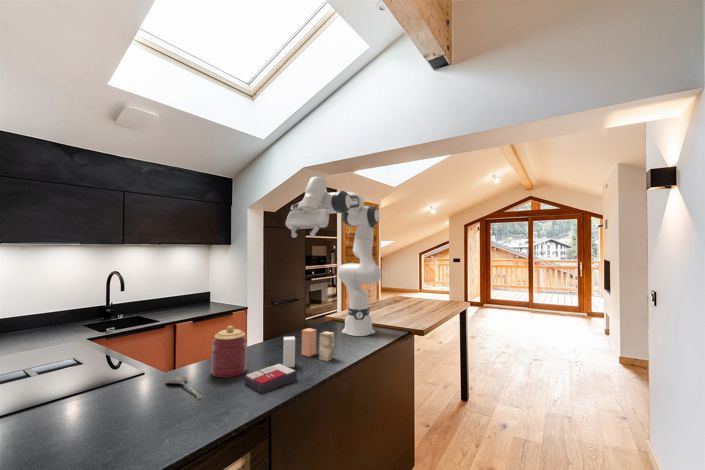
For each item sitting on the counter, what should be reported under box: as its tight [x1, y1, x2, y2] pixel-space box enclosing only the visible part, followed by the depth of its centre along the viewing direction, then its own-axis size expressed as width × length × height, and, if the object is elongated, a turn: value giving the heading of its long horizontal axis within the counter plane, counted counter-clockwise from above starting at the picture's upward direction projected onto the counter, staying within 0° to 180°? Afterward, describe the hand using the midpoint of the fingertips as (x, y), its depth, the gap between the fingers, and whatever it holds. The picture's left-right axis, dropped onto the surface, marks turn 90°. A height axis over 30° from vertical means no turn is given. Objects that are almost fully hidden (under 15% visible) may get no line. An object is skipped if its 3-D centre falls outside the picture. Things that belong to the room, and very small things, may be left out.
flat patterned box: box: [243, 363, 298, 394], centre depth 119 cm, size 11×4×15 cm
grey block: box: [282, 335, 296, 368], centre depth 136 cm, size 4×4×11 cm
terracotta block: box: [301, 327, 317, 357], centre depth 150 cm, size 4×4×11 cm
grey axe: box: [165, 375, 203, 401], centre depth 113 cm, size 22×3×7 cm
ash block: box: [318, 331, 335, 362], centre depth 144 cm, size 4×4×11 cm
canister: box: [210, 325, 248, 378], centre depth 128 cm, size 13×13×18 cm
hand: (302, 236), depth 138 cm, fingers open, 8 cm apart
